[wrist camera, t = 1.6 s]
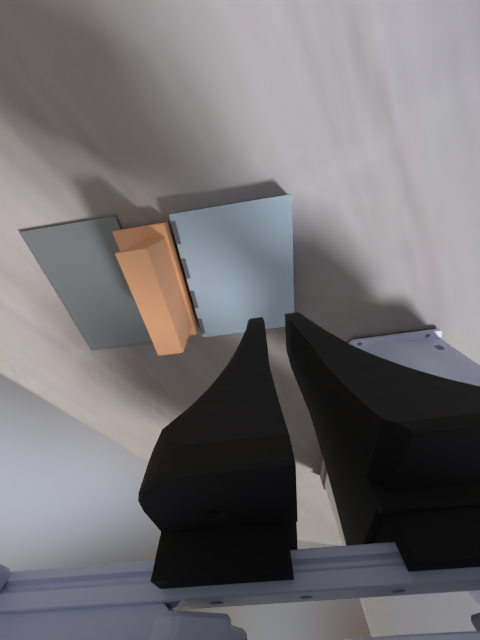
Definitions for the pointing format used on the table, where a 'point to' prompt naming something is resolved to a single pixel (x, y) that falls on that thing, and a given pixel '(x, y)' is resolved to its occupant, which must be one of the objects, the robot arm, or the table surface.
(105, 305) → the pad
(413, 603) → the tall white rectangular box
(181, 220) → the light blue notched panel
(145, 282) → the stub
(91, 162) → the table surface
